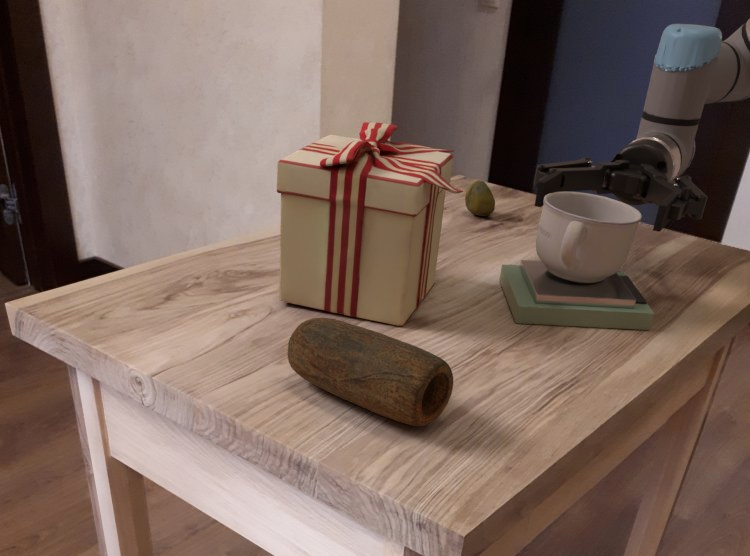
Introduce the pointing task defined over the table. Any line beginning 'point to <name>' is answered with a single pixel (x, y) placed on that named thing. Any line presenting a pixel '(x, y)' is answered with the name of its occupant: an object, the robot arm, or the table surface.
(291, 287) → the gift box
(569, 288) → the pan
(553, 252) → the teacup
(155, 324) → the table surface
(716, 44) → the robot arm
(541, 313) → the scale
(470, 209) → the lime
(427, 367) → the wooden vase
